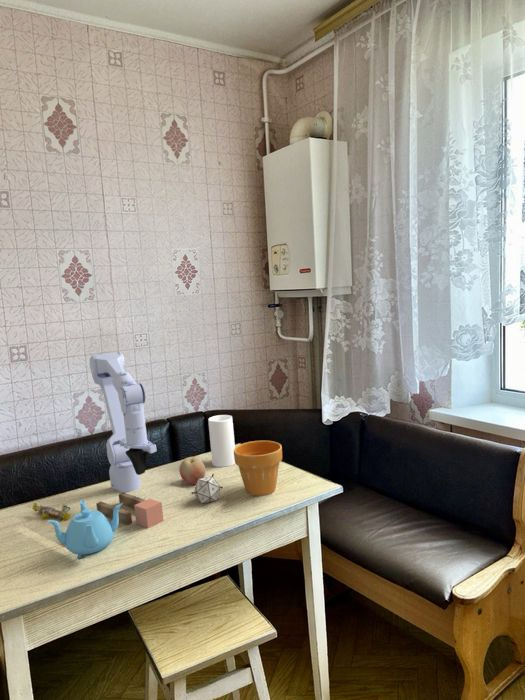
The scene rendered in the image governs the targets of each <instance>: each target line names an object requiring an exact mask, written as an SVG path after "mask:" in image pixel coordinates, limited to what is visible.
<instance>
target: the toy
mask: <svg viewBox="0 0 525 700" xmlns="http://www.w3.org/2000/svg"><path fill="white" fill-rule="evenodd" d="M31 509H32V510H33V511H35V512H37V513H38V514H41V516H40V517H41V519H42V520H46V519H50V518H53V517H55V518H57V519H59V521H60V522H64V521H67V520H69V519H70V517H71V514H70V513H69V511H70V510H71V507H70V506H68V504H62V506H61V510H59V509H56V508H55V507H53V506H48V505H47V506H46V505H45V506H44V505H42V504H40V505H38V503H36V502H34V504H33V506H32V508H31Z"/></svg>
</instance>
